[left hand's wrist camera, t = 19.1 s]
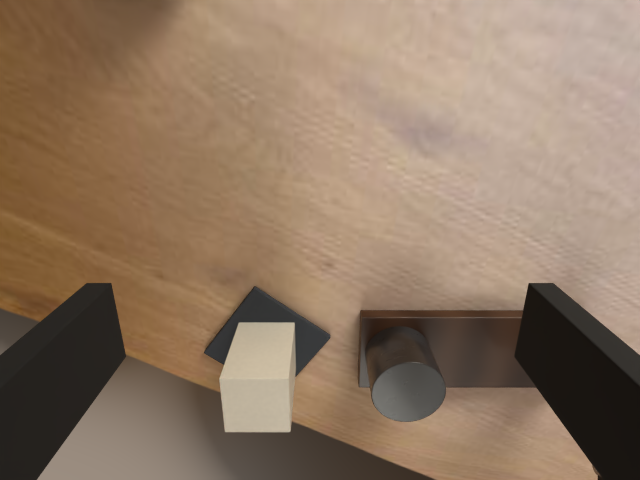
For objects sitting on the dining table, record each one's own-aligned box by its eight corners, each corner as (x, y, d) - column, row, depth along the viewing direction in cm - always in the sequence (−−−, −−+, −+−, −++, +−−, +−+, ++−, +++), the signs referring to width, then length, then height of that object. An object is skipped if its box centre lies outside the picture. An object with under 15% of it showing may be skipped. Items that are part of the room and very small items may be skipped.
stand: (357, 378, 46) (365, 438, 39) (360, 310, 43) (369, 359, 35) (566, 378, 46) (616, 438, 38) (584, 310, 43) (643, 360, 35)
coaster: (205, 349, 45) (203, 353, 45) (254, 285, 42) (253, 288, 42) (278, 393, 47) (277, 396, 47) (330, 334, 44) (330, 337, 44)
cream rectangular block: (242, 368, 45) (224, 432, 37) (238, 322, 43) (219, 378, 35) (296, 368, 45) (290, 432, 37) (294, 322, 43) (288, 378, 35)
